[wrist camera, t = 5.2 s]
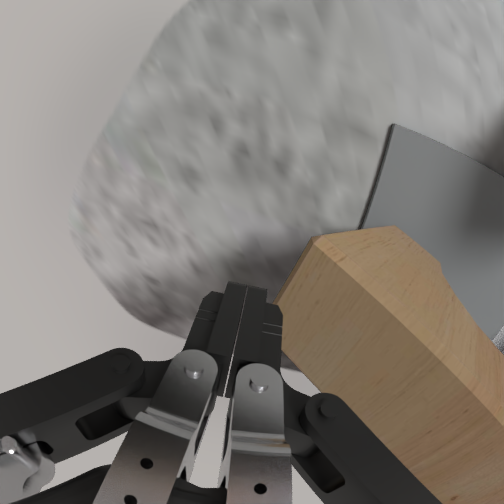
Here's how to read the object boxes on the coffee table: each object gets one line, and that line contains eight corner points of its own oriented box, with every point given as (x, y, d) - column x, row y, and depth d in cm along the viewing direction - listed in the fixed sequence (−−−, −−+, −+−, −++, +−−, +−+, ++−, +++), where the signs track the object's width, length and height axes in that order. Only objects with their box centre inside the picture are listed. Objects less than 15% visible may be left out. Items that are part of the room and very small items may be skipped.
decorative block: (392, 222, 18) (559, 392, 9) (351, 283, 21) (507, 438, 11) (313, 225, 10) (575, 499, 1) (252, 327, 13) (487, 549, 3)
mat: (557, 215, 15) (559, 216, 15) (491, 337, 23) (492, 339, 23) (392, 123, 16) (395, 124, 15) (325, 316, 24) (326, 319, 23)
